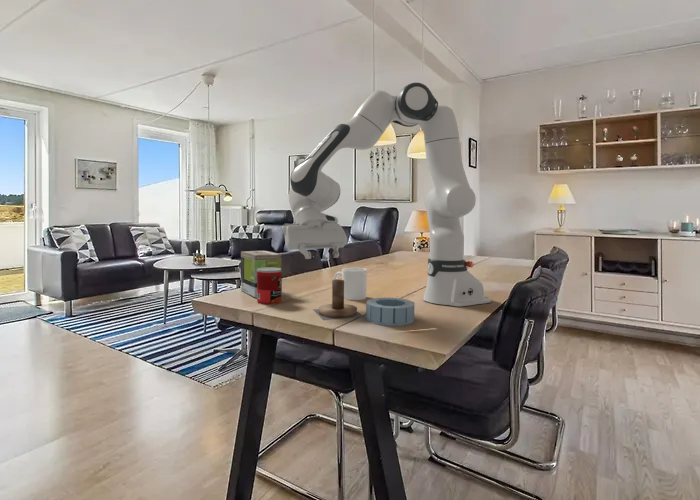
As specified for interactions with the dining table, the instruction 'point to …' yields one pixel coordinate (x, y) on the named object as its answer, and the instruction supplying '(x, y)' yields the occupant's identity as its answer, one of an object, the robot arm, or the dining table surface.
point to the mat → (337, 318)
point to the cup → (353, 283)
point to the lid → (337, 303)
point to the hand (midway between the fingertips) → (322, 257)
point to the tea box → (250, 266)
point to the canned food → (269, 285)
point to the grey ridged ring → (390, 311)
